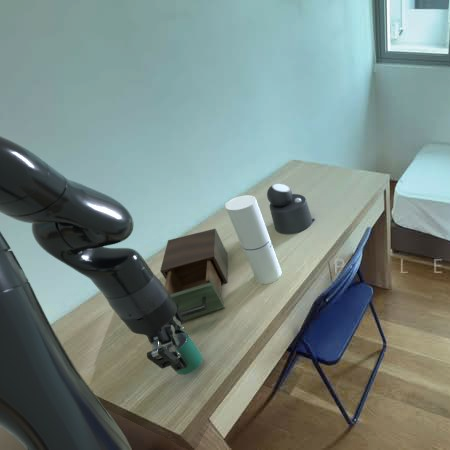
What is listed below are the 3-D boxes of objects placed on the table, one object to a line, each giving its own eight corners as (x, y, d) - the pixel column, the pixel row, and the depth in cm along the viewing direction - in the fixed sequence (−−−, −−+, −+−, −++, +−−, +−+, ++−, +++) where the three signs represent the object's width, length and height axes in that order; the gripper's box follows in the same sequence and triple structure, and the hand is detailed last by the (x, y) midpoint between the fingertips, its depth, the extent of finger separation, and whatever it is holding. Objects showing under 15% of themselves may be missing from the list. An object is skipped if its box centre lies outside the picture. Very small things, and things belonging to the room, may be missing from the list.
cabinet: (227, 282, 89) (214, 256, 83) (177, 297, 85) (159, 270, 79) (227, 253, 100) (215, 228, 94) (183, 265, 96) (167, 240, 90)
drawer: (223, 319, 77) (210, 297, 72) (171, 337, 73) (154, 314, 68) (224, 275, 90) (213, 253, 85) (179, 288, 86) (165, 266, 82)
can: (195, 373, 64) (179, 353, 60) (170, 375, 64) (153, 355, 60) (207, 351, 69) (193, 331, 65) (183, 352, 69) (168, 332, 65)
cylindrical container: (250, 281, 89) (218, 207, 74) (266, 265, 94) (238, 193, 80) (271, 286, 87) (242, 211, 73) (286, 269, 92) (261, 196, 78)
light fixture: (305, 190, 100) (259, 196, 97) (315, 230, 109) (273, 237, 106) (305, 173, 110) (264, 178, 108) (314, 210, 119) (276, 216, 117)
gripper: (127, 282, 60) (168, 336, 69) (105, 340, 49) (157, 395, 58) (172, 270, 62) (205, 324, 72) (160, 322, 51) (201, 378, 61)
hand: (183, 355), depth 65 cm, fingers closed on can, 5 cm apart
